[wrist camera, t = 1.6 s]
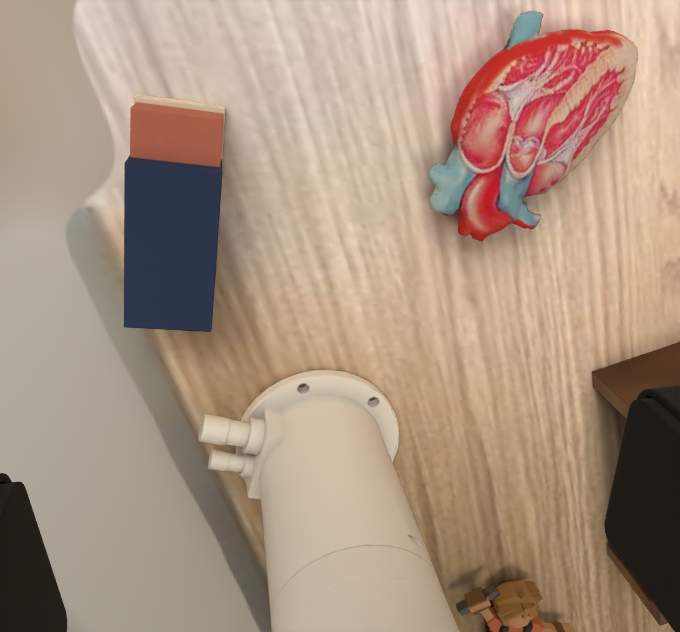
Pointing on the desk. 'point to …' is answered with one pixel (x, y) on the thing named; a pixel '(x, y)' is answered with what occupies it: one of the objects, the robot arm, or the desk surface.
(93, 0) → the desk surface
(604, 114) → the anatomical model
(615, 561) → the shoe shelf
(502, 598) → the character figurine
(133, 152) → the navy and orange box
